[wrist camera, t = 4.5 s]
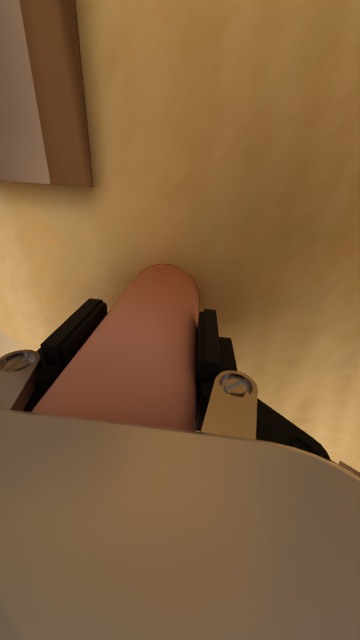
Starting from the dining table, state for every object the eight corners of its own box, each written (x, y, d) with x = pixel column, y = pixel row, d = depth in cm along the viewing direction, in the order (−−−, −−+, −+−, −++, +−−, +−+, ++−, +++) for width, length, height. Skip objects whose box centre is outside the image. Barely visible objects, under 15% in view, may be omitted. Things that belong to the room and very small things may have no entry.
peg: (202, 267, 14) (204, 487, 4) (195, 330, 16) (183, 587, 6) (129, 261, 14) (-74, 453, 4) (131, 324, 16) (5, 562, 6)
